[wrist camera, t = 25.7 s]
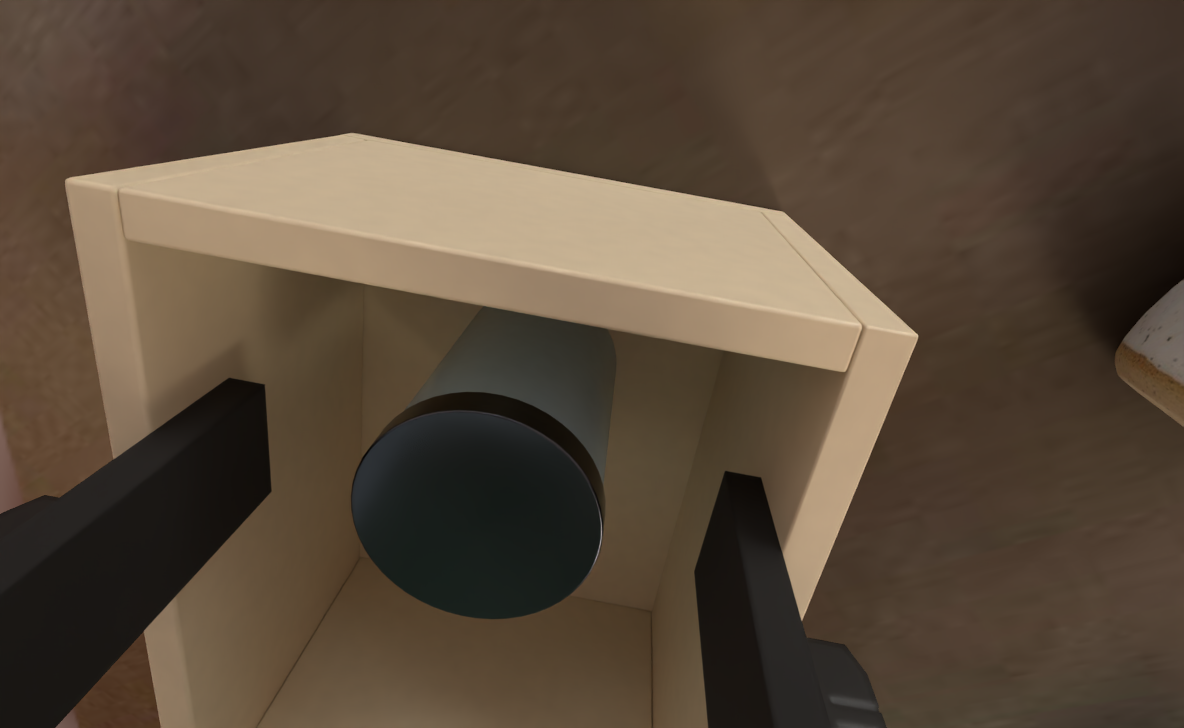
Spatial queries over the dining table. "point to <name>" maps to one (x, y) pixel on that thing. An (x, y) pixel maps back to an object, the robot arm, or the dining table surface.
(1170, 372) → the ceramic mug
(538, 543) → the coffee tin
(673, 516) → the tan storage tray
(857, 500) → the dining table surface
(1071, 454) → the dining table surface
